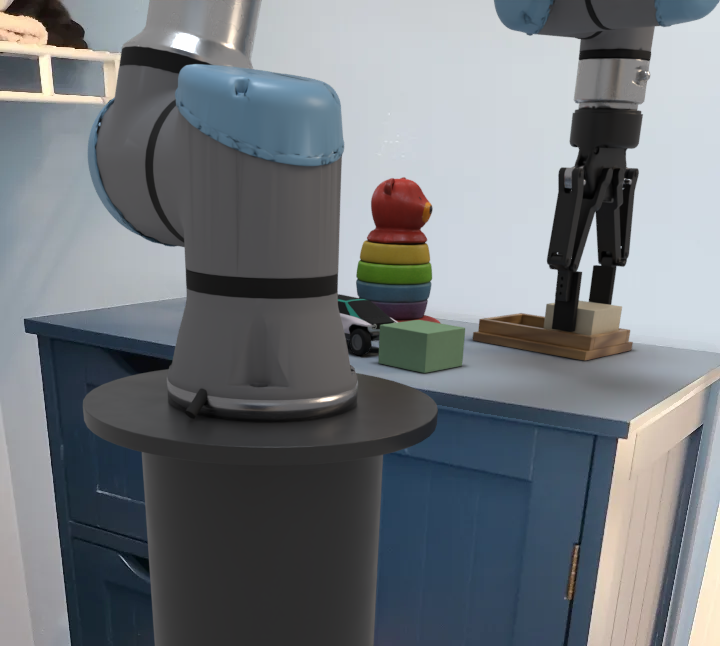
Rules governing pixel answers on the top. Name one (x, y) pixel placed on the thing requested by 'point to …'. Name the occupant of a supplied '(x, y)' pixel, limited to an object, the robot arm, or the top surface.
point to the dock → (549, 337)
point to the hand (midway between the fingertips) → (580, 326)
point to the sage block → (421, 345)
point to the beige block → (590, 318)
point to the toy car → (361, 322)
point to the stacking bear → (397, 252)
